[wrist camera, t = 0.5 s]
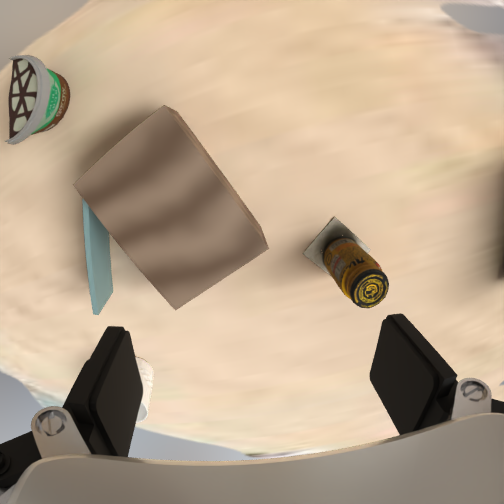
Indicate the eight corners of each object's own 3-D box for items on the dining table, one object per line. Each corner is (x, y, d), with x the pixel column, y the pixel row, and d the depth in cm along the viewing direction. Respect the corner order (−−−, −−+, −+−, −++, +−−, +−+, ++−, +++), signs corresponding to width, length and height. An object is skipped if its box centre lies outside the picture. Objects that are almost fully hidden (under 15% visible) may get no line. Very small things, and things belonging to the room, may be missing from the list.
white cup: (109, 367, 52) (94, 404, 43) (130, 346, 51) (115, 384, 41) (142, 390, 55) (133, 428, 45) (165, 370, 53) (157, 410, 44)
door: (95, 188, 40) (74, 198, 34) (108, 189, 40) (88, 199, 34) (101, 290, 46) (85, 313, 39) (113, 291, 46) (98, 314, 39)
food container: (76, 135, 38) (40, 138, 29) (43, 141, 37) (4, 145, 28) (79, 56, 34) (46, 41, 24) (46, 64, 33) (9, 54, 24)
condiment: (339, 283, 49) (368, 323, 38) (302, 253, 47) (325, 290, 36) (370, 249, 48) (406, 282, 36) (334, 216, 45) (367, 242, 34)
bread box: (100, 174, 40) (73, 184, 32) (177, 111, 38) (164, 105, 30) (183, 279, 47) (175, 310, 39) (260, 226, 45) (268, 248, 37)
